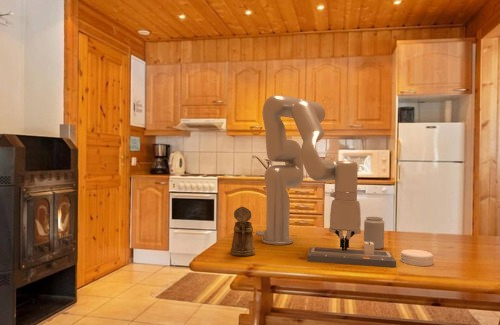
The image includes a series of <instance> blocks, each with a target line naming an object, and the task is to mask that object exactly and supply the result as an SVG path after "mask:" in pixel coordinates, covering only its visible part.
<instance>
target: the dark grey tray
mask: <svg viewBox="0 0 500 325" xmlns="http://www.w3.org/2000/svg"><path fill="white" fill-rule="evenodd" d="M392 254H393V253H391V252H390V251H388V250H386V251H385V250H374V255H364V249H358V248H357V249H356V248H347V251H345V249H344V251H342V248H340V247H325V246H324V247H321V246H309V249H308V252H307V262H315V263H324V264H325V263H328V264H339V265H340V264H342V265H354V266H369V267H382V268H395V267H396V268H397V260H396V259H395V257H394V256H393V255H392Z"/></svg>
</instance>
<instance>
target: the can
mask: <svg viewBox="0 0 500 325" xmlns="http://www.w3.org/2000/svg"><path fill="white" fill-rule="evenodd" d="M368 241H369V242H373V243H374V251H380V250H382V249H383V248H384V247H385V221H384V220H383V217H380V216H366V217H365V220H364V222H363V243H364V242H368Z"/></svg>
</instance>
